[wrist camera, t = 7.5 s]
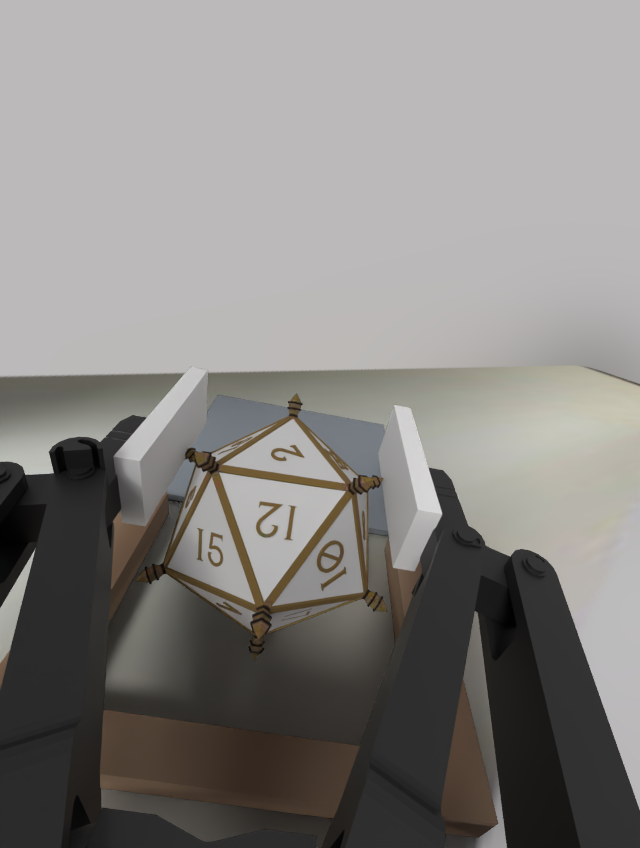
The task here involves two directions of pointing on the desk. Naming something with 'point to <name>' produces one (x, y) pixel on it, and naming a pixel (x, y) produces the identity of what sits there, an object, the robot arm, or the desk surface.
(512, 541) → the desk surface
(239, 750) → the open frame
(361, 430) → the mat
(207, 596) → the game die
